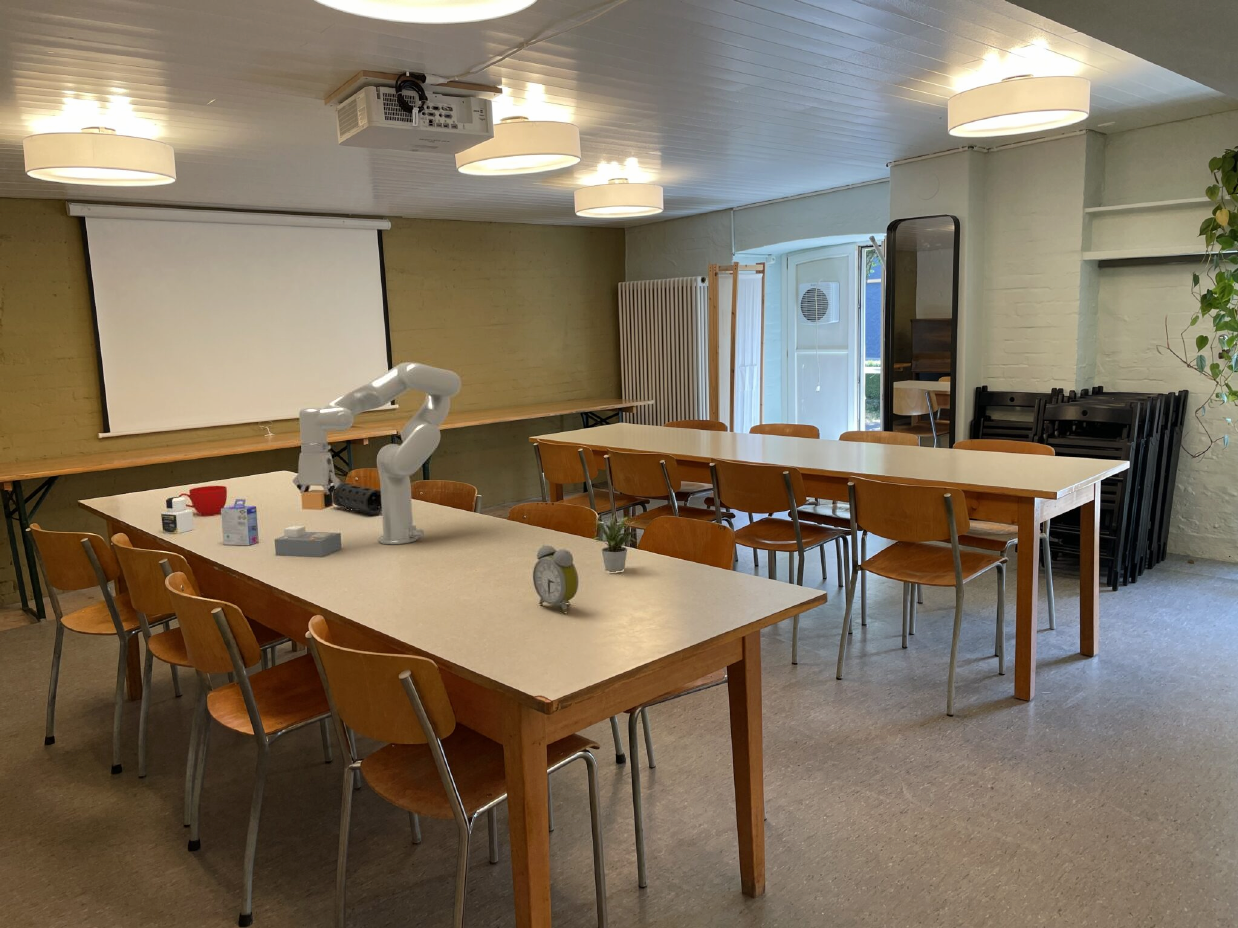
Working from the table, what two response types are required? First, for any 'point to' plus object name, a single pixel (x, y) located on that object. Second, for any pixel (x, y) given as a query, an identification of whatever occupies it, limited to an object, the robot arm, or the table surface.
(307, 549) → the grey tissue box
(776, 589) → the table surface
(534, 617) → the table surface
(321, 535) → the block
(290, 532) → the white cube
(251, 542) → the ink cartridge box
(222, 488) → the ceramic cup
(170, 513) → the medicine bottle
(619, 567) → the house plant
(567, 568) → the alarm clock
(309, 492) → the cap
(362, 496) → the muzzle brake
